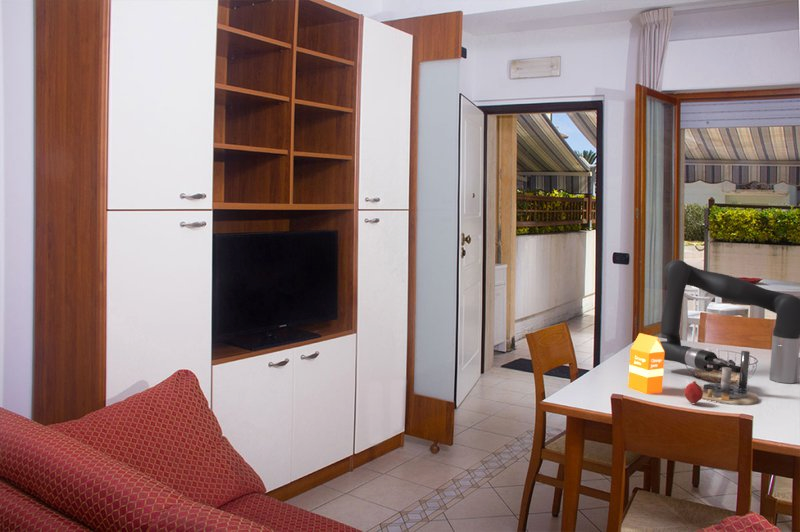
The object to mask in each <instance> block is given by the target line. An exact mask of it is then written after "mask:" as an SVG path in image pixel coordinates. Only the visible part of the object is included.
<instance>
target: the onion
mask: <svg viewBox="0 0 800 532" xmlns="http://www.w3.org/2000/svg"><path fill="white" fill-rule="evenodd" d="M700 386H701V385H699V384H698V383H697V381H696V380H693V381H692V382H690V383H689V384H688V385H687V386H686V387H685V388H684V390H683V394H684V397H685V399H686V400H687V401H688V402H689V403H690V404H691V403H695V404H696V403H698V402H699V401H701V400H702V396H703V391H702V389H701V387H700Z"/></svg>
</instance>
